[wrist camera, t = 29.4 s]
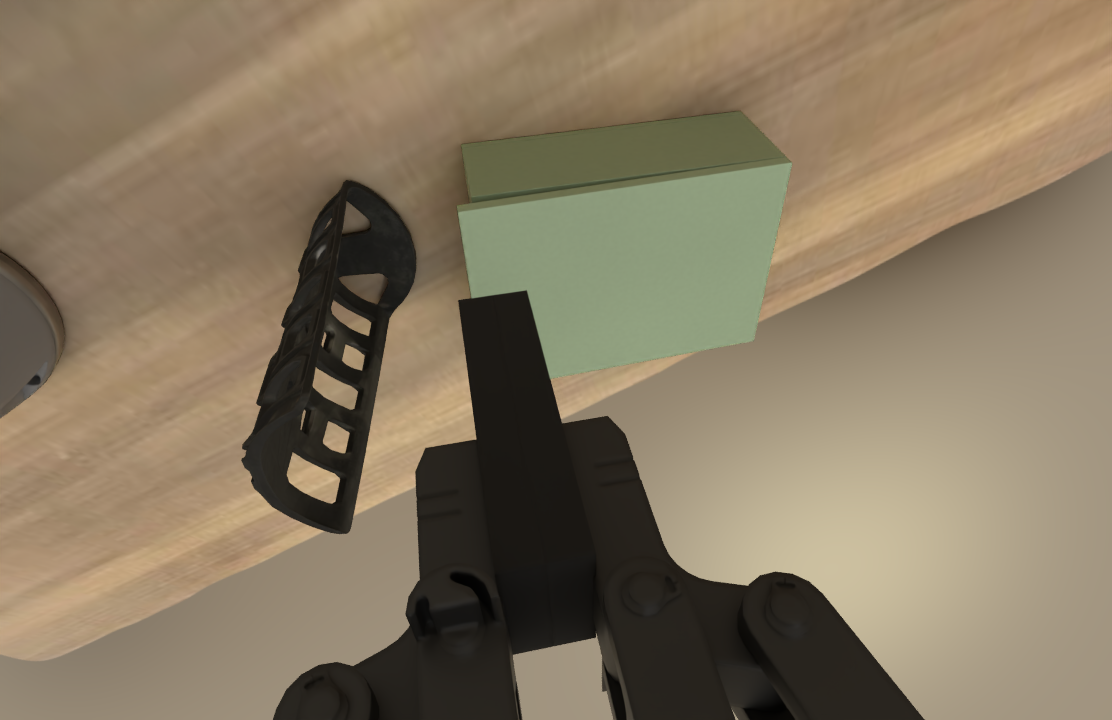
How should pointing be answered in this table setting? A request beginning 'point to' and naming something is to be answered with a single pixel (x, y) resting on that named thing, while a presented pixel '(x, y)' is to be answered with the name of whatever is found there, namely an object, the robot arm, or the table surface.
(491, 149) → the box
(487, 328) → the robot arm
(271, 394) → the holder
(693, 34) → the table surface
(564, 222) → the lid
